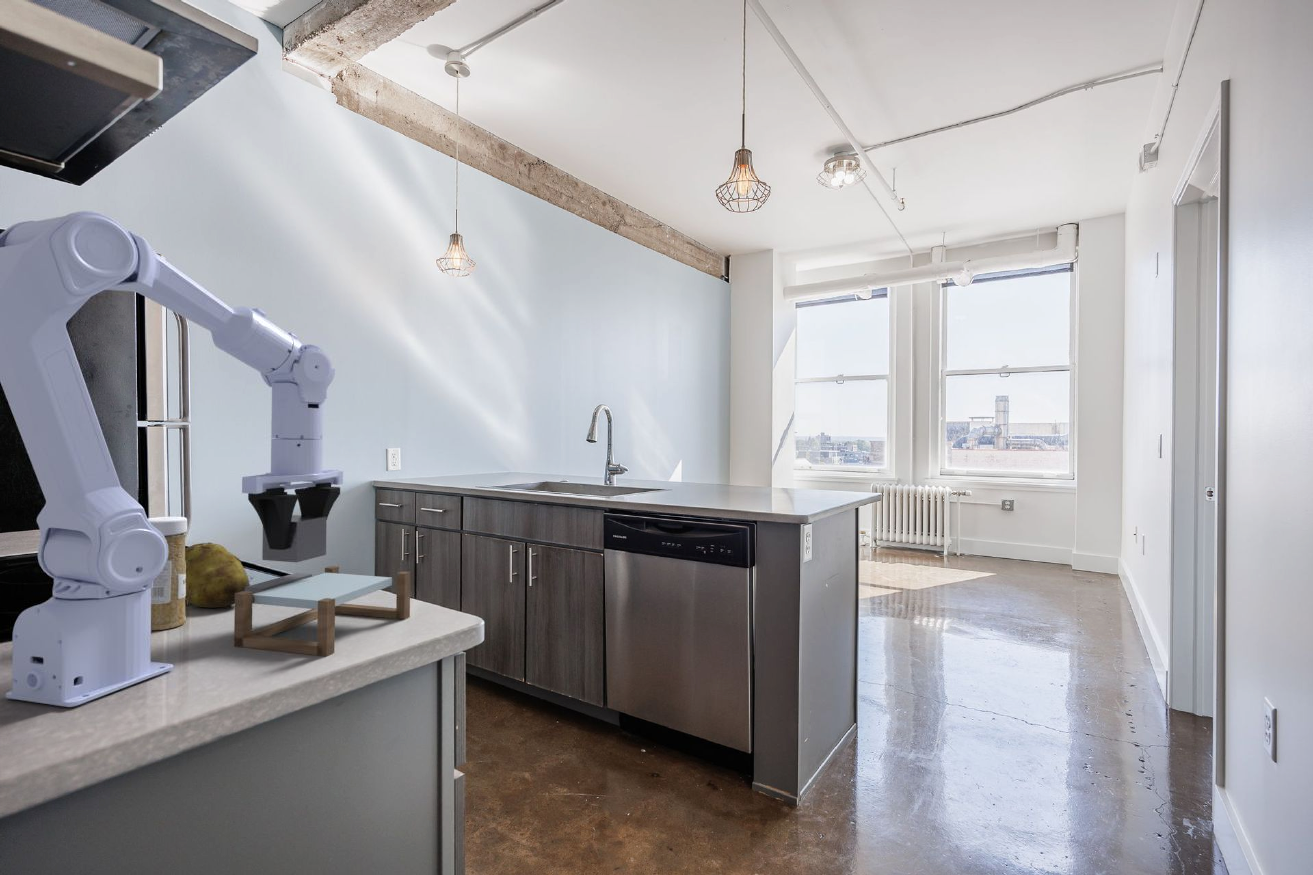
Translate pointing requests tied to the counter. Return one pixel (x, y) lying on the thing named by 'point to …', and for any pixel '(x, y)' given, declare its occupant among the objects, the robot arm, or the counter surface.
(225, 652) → the counter surface
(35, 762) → the counter surface
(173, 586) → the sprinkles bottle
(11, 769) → the counter surface
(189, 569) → the potato
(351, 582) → the trapdoor
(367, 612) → the frame
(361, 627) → the counter surface
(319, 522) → the iron block
